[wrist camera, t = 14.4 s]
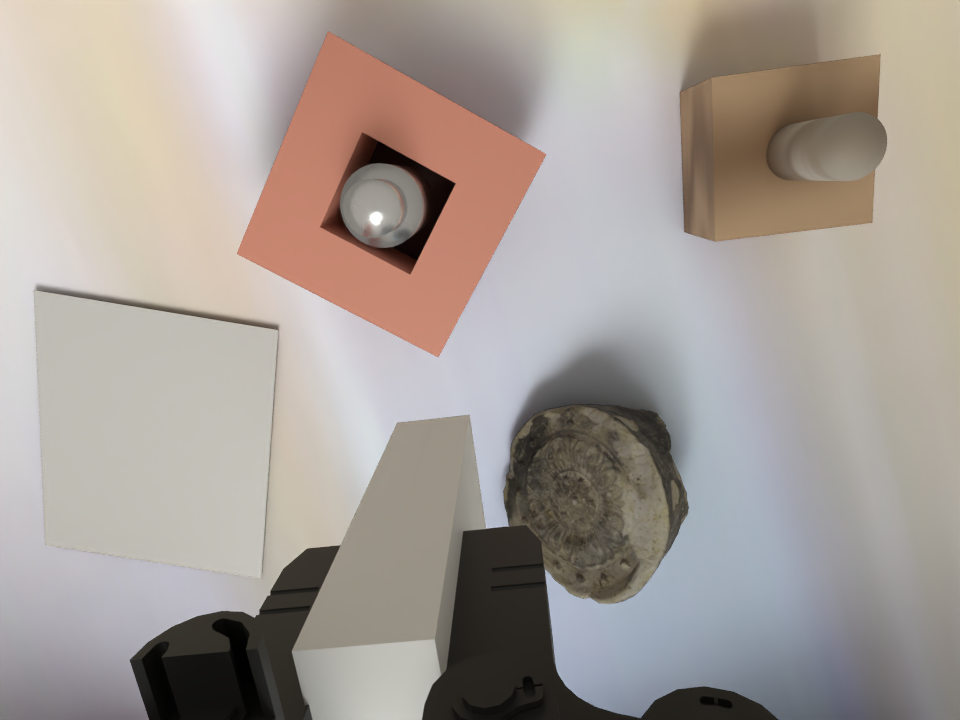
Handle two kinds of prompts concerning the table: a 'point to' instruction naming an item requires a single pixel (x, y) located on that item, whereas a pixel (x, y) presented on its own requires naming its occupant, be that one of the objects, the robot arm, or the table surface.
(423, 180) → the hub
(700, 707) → the robot arm
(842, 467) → the table surface
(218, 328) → the paper stack
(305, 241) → the salmon square frame
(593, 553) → the fossil
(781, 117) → the stand
